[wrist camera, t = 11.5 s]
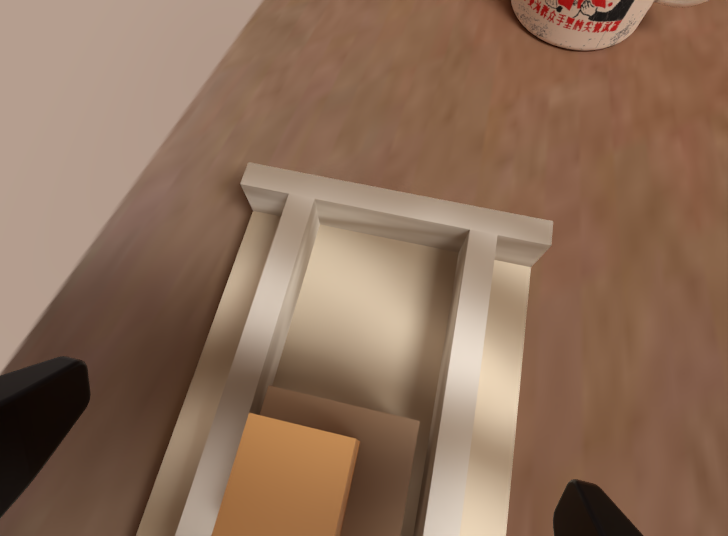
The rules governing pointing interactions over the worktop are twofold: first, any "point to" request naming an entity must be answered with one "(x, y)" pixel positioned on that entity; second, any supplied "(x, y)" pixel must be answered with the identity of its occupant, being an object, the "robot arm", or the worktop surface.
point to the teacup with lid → (586, 20)
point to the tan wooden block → (318, 470)
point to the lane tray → (365, 342)
